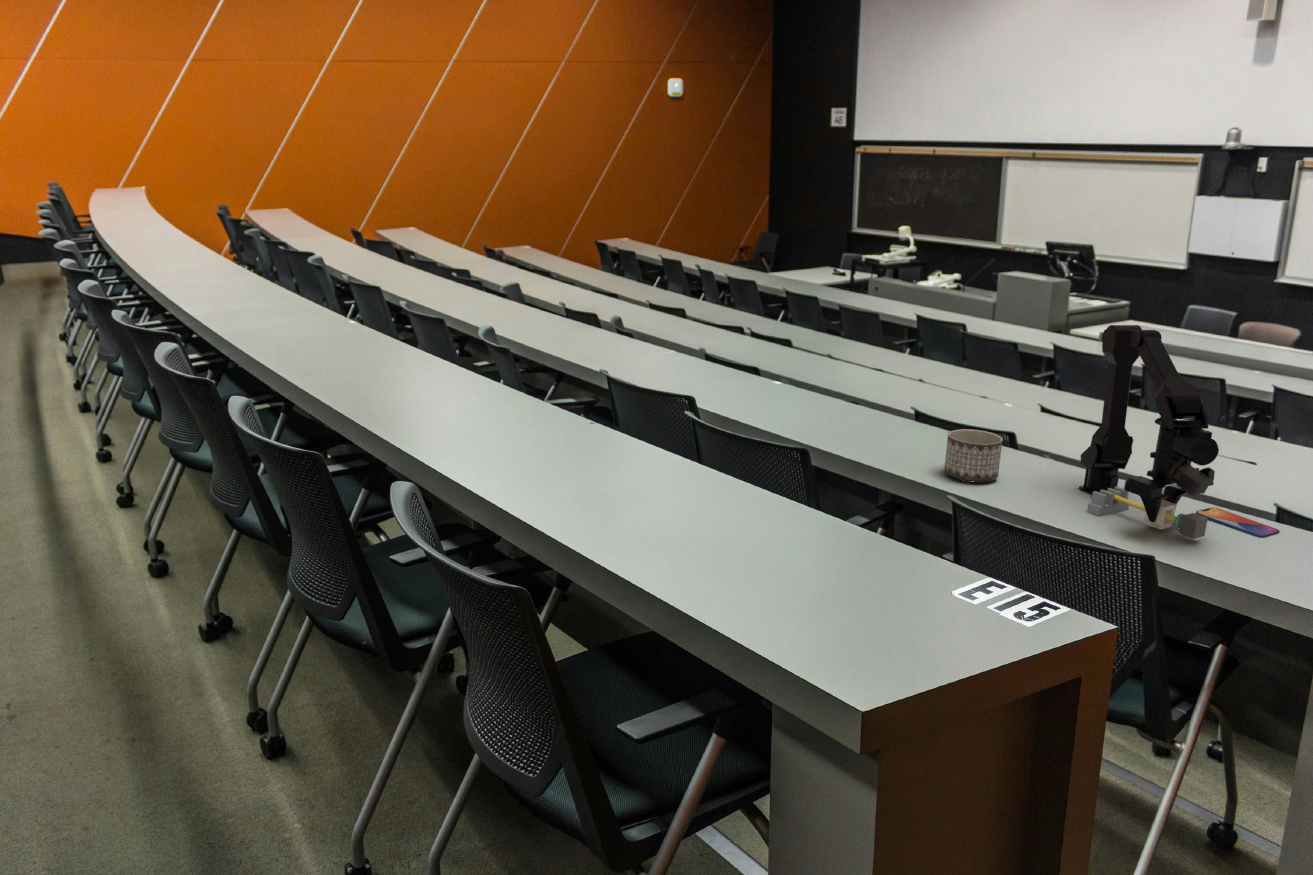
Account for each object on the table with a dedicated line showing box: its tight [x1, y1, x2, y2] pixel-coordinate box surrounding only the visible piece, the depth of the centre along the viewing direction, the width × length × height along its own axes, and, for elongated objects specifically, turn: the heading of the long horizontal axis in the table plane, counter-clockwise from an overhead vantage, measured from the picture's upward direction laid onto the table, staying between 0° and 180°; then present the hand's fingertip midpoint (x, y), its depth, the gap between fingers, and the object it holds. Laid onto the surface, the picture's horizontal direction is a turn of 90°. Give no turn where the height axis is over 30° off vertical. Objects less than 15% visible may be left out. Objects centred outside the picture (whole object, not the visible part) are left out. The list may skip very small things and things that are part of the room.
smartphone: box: [1195, 507, 1280, 539], centre depth 207 cm, size 7×15×1 cm, turn 28°
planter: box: [943, 428, 1004, 483], centre depth 233 cm, size 13×13×10 cm
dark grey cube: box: [1178, 512, 1209, 540], centre depth 196 cm, size 4×4×4 cm
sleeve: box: [1142, 500, 1178, 530], centre depth 202 cm, size 4×4×5 cm
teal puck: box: [1173, 513, 1185, 530], centre depth 198 cm, size 1×3×3 cm, turn 118°
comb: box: [1086, 486, 1130, 517], centre depth 213 cm, size 3×10×5 cm, turn 118°
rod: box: [1113, 494, 1177, 523], centre depth 205 cm, size 20×1×1 cm, turn 28°
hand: (1158, 520), depth 203 cm, fingers closed on sleeve, 4 cm apart
